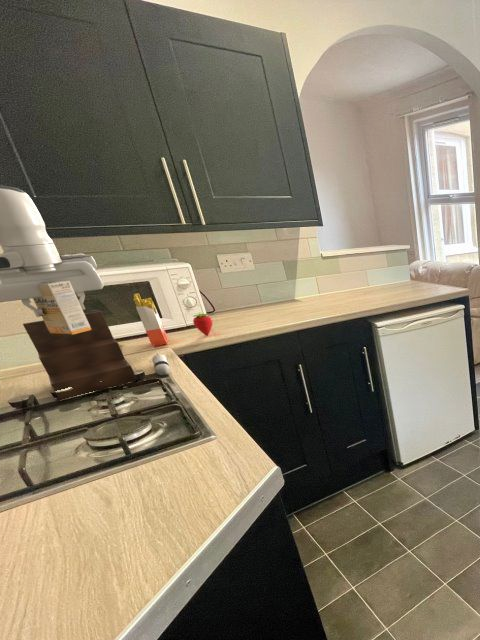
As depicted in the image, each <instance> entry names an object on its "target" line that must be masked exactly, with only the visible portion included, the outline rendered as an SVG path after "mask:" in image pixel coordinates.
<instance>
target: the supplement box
mask: <svg viewBox="0 0 480 640" xmlns="http://www.w3.org/2000/svg"><path fill="white" fill-rule="evenodd" d="M38 285H39V288H40V290H41V292H42V294H43V297H38V298H32V300H33V303H34V304H35V306H36V309H38V308H41V309H42V311H43V313H44V315H45V316H41V318H42V321H43V320H44V322H45V324H46V326H47V328H48V330H49V332H50V333H53V334H54V333H55V334H77V333H81V332H85V331H89V330H91V327H90V325H89V323H88V321H87V319H86V316H85V314H86V313H85V312H84V310H82V308H81V305H80V303H79V299H78V296H77V294H76V292H74V290H73V288H72V286H71V284H70V281H59V282H47V283H40V284H38Z"/></svg>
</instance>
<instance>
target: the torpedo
mask: <svg viewBox="0 0 480 640" xmlns="http://www.w3.org/2000/svg"><path fill="white" fill-rule="evenodd" d="M153 346H154V345H152V347H153ZM153 348H154V350H155V352H156V354H155V355H153V356H152V359H151V360H150V361H149V362H151V363H152V366H153V368H154V371H155V373H156V374H157V375H158V376H166V375H169V374H170V372H171V368H170V367H171V366H170V364H169V361H168V359H169V356H166V355H164V354H159V353H158V351H157V349H156V346H154V347H153Z"/></svg>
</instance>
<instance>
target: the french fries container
mask: <svg viewBox="0 0 480 640" xmlns="http://www.w3.org/2000/svg"><path fill="white" fill-rule="evenodd" d="M133 302H134V304H135V308H136V311H137V313H138V316H139V318H140V321H141V323H142V326H143V328H144V330H145V332H146V335H147V337H148V341H149V342H150V344H151V345H152V346H153V345H154V346H155V347H159V346H164V345H163V344H165V345H168V344H167V342H168V343H169V340H168V336H167V332H166V330H165V327H164V324H163V322H162V319H161V317H160V314H159V313H158V310H157V308H156V305H155V303H154V301H153V299H152V297H147V298H143V299H142V298H141V295H140V293H134V294H133Z"/></svg>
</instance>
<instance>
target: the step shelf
mask: <svg viewBox="0 0 480 640" xmlns="http://www.w3.org/2000/svg"><path fill="white" fill-rule="evenodd" d="M84 314H85V316H86V319H87V321H88V323H89V325H90V327H91V330H89V331H85V332H81V333H77V334H55V333H54V334H53V333H50V332H49V330H48V328H47V326H46V324H45V322H44V320H43V319H42V320H38V321H33V322H32V321H31V322H25V323H24V322H23V323H22V325H23V328H24V330H25V331H26V333H27V335H28V337H29V339H30V341H31V343H32V344H33V346H34V348H35V350H36V352H37V354H38V359H39V361H40V363H41V365H42V366H43V368H44V370H45V372H46V373H47V376H48V379H49V383H50V386H51V388H52V390H53V391H54V392H55V391H57V390H61V389H65V388H68V387H72V388H73V389H72V390H71V391H67V392H63V393H57V394H56V393H55V395H56V396H57V399H58V401H60V400H62V399H65V398H69V397H73V396H77V395H81V394H85V393H89V392H93V391H96V390H100V389H104V388H108V387H114V386H119V385H122V384H127V383H128V382H131V381H135V380H138V378H137V376H136V374H135V372H134V369H133V367H132V365H131V364H130V362H128V360H127V359H126V358H125V355H124V353H123V351H122V349H120V347H119V345H118V343H119V342H118V341H117V340H116V339H115V337H114V336H113V334H112V331H111V329H110V327H109V325H108V323H107V321H106V319H105V316H104V313H103V312H102V310H98V311H92V312H87V313H86V312H85V313H84ZM100 381H102V382H100ZM127 385H128V384H127Z"/></svg>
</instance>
